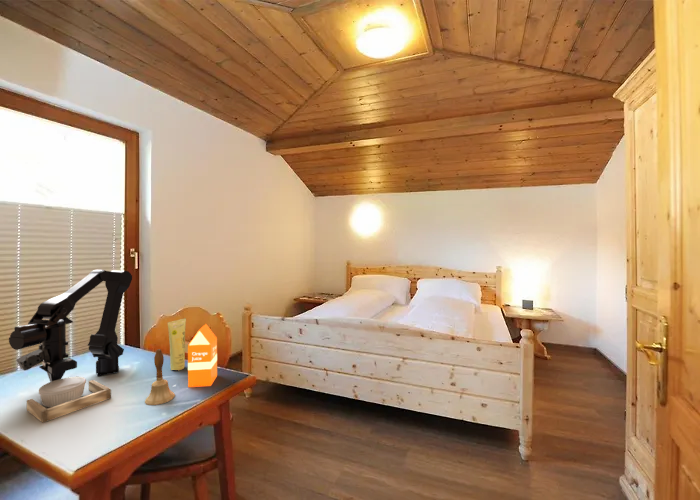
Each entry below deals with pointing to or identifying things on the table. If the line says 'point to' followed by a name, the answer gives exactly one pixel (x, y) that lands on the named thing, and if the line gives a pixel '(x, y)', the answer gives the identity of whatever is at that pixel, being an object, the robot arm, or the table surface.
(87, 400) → the cradle
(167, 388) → the hand bell
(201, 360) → the orange juice
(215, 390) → the table surface
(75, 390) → the ramekin
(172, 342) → the tube
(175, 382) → the table surface
